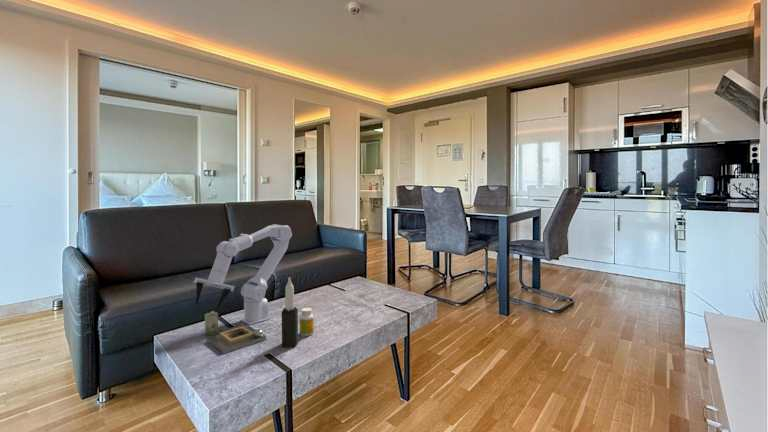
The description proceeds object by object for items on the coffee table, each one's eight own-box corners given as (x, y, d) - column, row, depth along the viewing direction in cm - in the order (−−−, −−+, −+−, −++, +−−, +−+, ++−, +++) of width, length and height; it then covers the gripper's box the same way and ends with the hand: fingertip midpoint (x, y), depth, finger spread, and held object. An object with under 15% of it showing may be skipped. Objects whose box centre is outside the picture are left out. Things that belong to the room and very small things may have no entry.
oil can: (215, 330, 138) (214, 307, 137) (220, 334, 135) (219, 310, 134) (203, 334, 134) (202, 310, 134) (207, 337, 131) (207, 313, 130)
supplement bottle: (299, 336, 133) (299, 312, 132) (299, 331, 138) (299, 307, 137) (314, 335, 134) (314, 311, 133) (313, 330, 139) (313, 306, 139)
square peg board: (248, 329, 139) (248, 321, 139) (266, 339, 130) (266, 330, 129) (207, 341, 127) (206, 332, 127) (222, 354, 118) (222, 344, 118)
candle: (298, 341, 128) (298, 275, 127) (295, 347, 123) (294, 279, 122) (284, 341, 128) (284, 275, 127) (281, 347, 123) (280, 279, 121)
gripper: (199, 266, 129) (186, 302, 126) (239, 276, 136) (227, 310, 132) (199, 266, 136) (186, 300, 132) (237, 275, 142) (226, 308, 139)
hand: (206, 305), depth 133 cm, fingers open, 7 cm apart
